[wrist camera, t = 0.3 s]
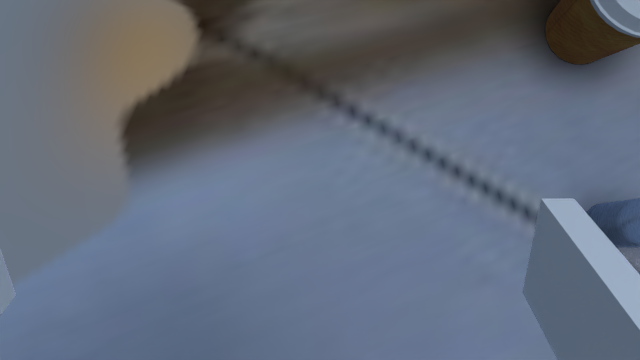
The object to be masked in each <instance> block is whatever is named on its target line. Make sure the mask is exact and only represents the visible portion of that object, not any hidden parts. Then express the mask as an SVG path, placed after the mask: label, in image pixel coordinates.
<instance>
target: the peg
mask: <svg viewBox="0 0 640 360" xmlns="http://www.w3.org/2000/svg"><path fill="white" fill-rule="evenodd" d="M587 214H588V215H589V217H590V218H591V219H592V220H593V221H594V222H595V224H596V225H597V226H598V227H599V228H600V229H601V231H602V232H603V233H604V234H605V235H606V236H607V237H608V239H609V240H610V241H611V242H612V243H613V244H614V246H615V247H637V248H640V198H638V199H631V200H624V201H617V202H610V203H603V204H597V205H595V206H593V207H591V208H590V209H589V210H588V211H587Z"/></svg>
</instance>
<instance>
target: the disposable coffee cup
mask: <svg viewBox="0 0 640 360" xmlns="http://www.w3.org/2000/svg"><path fill="white" fill-rule="evenodd" d="M545 33H546V39H547V42H548V44H549V46H550V48H551V50H552V51H553V52H554V53H555V54H556V55H557V56H558V57H559V58H561V59H563V60H565V61H567V62H569V63H572V64H588V63H591V62H594V61H596V60H598V59H601V58H604V57H606V56H609V55H611V54H614V53H616V52H619V51H622V50H624V49H627V48H629V47H632V46H634V45H637V44H639V43H640V0H560V2H559V3H558V4H557V6H556V7H555V8H554V10H553V11H552V12H551V14H550V15H549V17H548V20H547V22H546V27H545Z"/></svg>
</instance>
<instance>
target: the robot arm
mask: <svg viewBox="0 0 640 360" xmlns="http://www.w3.org/2000/svg"><path fill="white" fill-rule="evenodd" d="M523 294H524V296H525V298H526V300H527V302H528V304H529V306H530V308H531V310H532V311H533V313H534V315H535V317H536V319H537V321H538V323H539V325H540V327H541V329H542V331H543V333H544V334H545V336H546V338H547V340H548V342H549V344H550V346H551V348H552V350H553V352H554V354H555V356H556V357H557V359H558V360H640V275H639V273H638V272H637V271H636V270H635V269H634V268H633V266H632V265H631V264H630V263H629V262H628V261H627V259H626V258H625V257H624V256H623V255H622V254H621V253H620V251H619V250H618V249H617V248H616V247H615V246H614V244H613V243H612V242H611V241H610V240H609V239H608V237H607V236H606V235H605V234H604V233H603V232H602V231H601V229H600V228H599V227H598V226H597V225H596V224H595V222H594V221H593V220H592V219H591V218H590V217H589V215H588V214H587V213H586V212H585V211H584V210H583V208H582V207H581V206H580V205H579V204H578V203H577V202H576V200H575V199H574V198H573V199H541V203H540V207H539V212H538V217H537V222H536V227H535V232H534V237H533V242H532V247H531V252H530V257H529V262H528V267H527V272H526V277H525V282H524V287H523ZM15 296H16V294H15V291H14V288H13V285H12V282H11V279H10V275H9V273H8V269H7V267H6V263H5V261H4V257H3V254H2V252H1V248H0V315H1V314H2V313H3V311H4V310H5V309H6V308H7V306H8V305H9V304H10V302H11V301H12V300H13V299H14V297H15Z"/></svg>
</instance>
